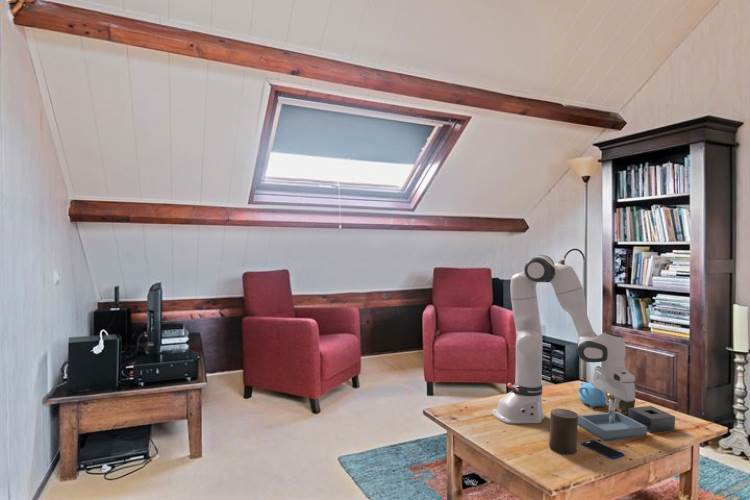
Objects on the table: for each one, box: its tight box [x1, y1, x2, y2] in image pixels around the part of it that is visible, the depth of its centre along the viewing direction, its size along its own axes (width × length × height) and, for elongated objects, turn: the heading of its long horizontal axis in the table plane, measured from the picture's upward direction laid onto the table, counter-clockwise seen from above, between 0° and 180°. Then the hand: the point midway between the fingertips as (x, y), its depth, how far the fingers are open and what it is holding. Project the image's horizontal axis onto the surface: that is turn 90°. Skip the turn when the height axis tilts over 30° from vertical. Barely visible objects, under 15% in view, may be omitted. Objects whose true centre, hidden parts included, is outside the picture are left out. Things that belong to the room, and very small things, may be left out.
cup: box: [617, 398, 636, 417], centre depth 210 cm, size 8×7×8 cm
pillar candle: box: [548, 408, 579, 455], centre depth 176 cm, size 10×10×15 cm
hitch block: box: [627, 405, 676, 434], centre depth 198 cm, size 12×12×6 cm
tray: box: [578, 411, 648, 442], centre depth 193 cm, size 20×16×4 cm
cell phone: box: [580, 439, 625, 460], centre depth 176 cm, size 7×14×1 cm, turn 28°
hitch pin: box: [607, 393, 616, 424], centre depth 193 cm, size 4×4×12 cm
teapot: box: [578, 380, 607, 409], centre depth 223 cm, size 13×14×11 cm
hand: (612, 404), depth 193 cm, fingers closed on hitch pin, 2 cm apart
